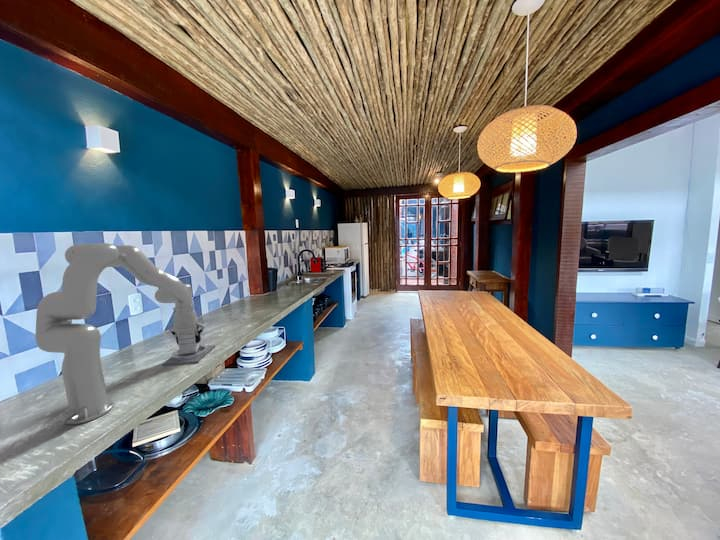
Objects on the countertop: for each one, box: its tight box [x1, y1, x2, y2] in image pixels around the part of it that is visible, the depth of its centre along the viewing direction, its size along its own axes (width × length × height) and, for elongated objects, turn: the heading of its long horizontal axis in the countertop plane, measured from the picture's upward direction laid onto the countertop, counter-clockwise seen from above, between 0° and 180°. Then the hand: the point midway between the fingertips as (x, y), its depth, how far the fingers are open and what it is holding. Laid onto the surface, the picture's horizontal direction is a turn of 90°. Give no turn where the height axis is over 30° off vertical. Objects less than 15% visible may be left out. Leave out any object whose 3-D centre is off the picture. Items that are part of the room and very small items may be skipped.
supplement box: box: [177, 328, 200, 354], centre depth 143 cm, size 7×7×13 cm
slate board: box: [161, 344, 216, 367], centre depth 144 cm, size 20×16×1 cm
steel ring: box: [171, 344, 208, 361], centre depth 144 cm, size 15×15×2 cm
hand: (189, 342), depth 143 cm, fingers closed on supplement box, 8 cm apart
